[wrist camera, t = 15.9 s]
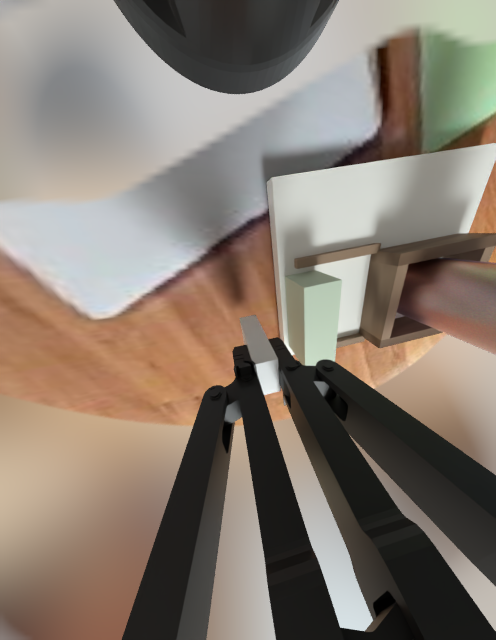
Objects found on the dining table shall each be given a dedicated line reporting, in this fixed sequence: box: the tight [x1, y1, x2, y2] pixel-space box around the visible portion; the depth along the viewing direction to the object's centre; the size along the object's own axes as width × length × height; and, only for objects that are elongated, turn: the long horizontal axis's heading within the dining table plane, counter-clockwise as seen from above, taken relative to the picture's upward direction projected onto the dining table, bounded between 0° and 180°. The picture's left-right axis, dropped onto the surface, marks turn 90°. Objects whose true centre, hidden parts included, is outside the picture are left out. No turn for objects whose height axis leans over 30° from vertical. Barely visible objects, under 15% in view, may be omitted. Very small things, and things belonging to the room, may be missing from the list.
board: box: [267, 143, 496, 355], centre depth 18 cm, size 17×20×2 cm
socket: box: [359, 233, 496, 348], centre depth 18 cm, size 10×10×3 cm
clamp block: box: [285, 270, 342, 366], centre depth 17 cm, size 8×3×4 cm, turn 9°
